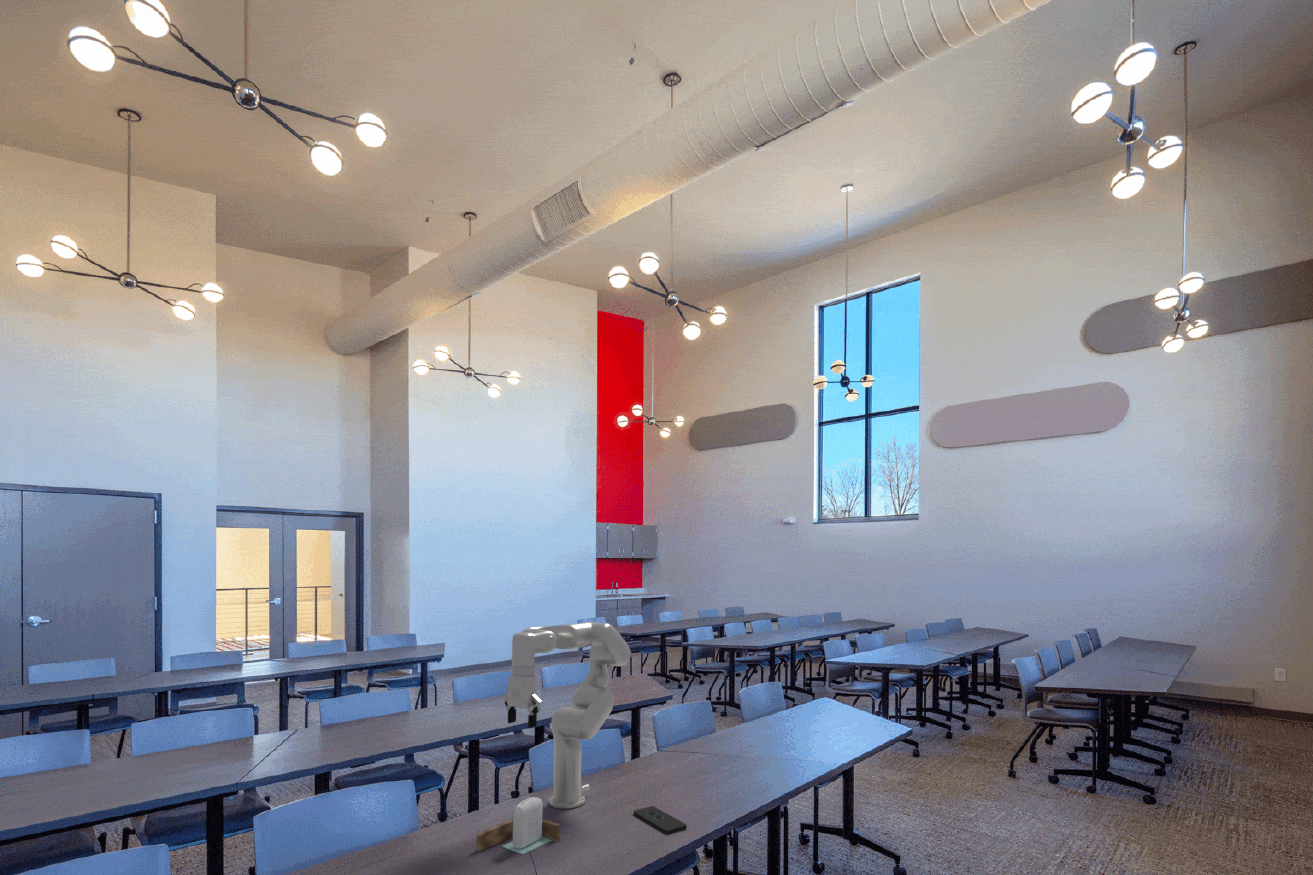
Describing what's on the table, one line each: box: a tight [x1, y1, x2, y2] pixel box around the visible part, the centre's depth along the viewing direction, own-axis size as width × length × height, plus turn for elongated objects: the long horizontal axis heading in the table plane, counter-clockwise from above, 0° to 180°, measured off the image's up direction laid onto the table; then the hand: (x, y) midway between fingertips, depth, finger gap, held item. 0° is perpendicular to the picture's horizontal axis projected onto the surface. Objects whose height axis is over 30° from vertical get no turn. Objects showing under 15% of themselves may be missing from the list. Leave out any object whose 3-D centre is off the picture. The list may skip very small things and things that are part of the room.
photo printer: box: [512, 796, 544, 849], centre depth 215 cm, size 10×4×12 cm, turn 149°
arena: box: [476, 818, 561, 852], centre depth 214 cm, size 20×15×4 cm
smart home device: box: [633, 805, 687, 835], centre depth 231 cm, size 8×2×20 cm
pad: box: [501, 837, 553, 856], centre depth 214 cm, size 12×9×1 cm
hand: (521, 724), depth 235 cm, fingers open, 9 cm apart
